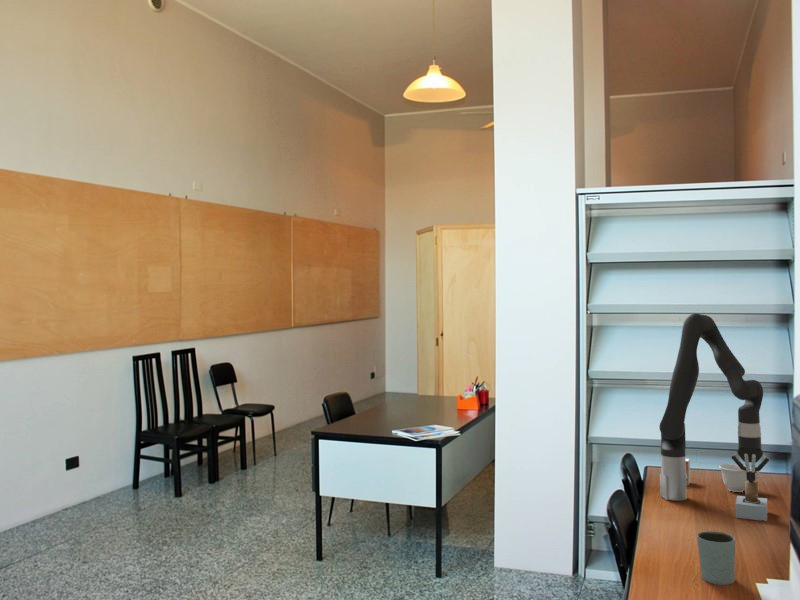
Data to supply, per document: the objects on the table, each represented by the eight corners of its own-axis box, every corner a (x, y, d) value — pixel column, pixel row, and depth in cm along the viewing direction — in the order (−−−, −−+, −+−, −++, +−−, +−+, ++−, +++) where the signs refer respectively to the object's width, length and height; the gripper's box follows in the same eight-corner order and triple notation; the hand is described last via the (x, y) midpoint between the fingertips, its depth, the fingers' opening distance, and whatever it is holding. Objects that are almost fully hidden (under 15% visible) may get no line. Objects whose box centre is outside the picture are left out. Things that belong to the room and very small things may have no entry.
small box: (669, 483, 301) (668, 459, 301) (670, 480, 306) (670, 457, 306) (689, 485, 297) (688, 461, 297) (690, 482, 302) (689, 458, 302)
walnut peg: (749, 516, 253) (748, 483, 253) (743, 513, 257) (742, 480, 257) (761, 516, 253) (760, 483, 253) (754, 512, 257) (753, 480, 257)
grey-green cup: (724, 588, 190) (723, 544, 190) (690, 577, 198) (689, 535, 199) (743, 579, 196) (742, 536, 196) (710, 569, 204) (708, 528, 205)
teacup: (758, 497, 277) (758, 472, 277) (718, 492, 285) (717, 468, 285) (761, 490, 287) (760, 465, 287) (721, 486, 295) (721, 462, 295)
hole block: (766, 521, 247) (766, 506, 247) (735, 517, 252) (735, 503, 252) (767, 511, 258) (767, 498, 258) (737, 508, 262) (737, 495, 262)
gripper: (769, 434, 255) (771, 481, 255) (730, 431, 261) (731, 478, 261) (769, 437, 249) (771, 486, 248) (729, 435, 255) (730, 482, 255)
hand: (751, 481), depth 255 cm, fingers closed
